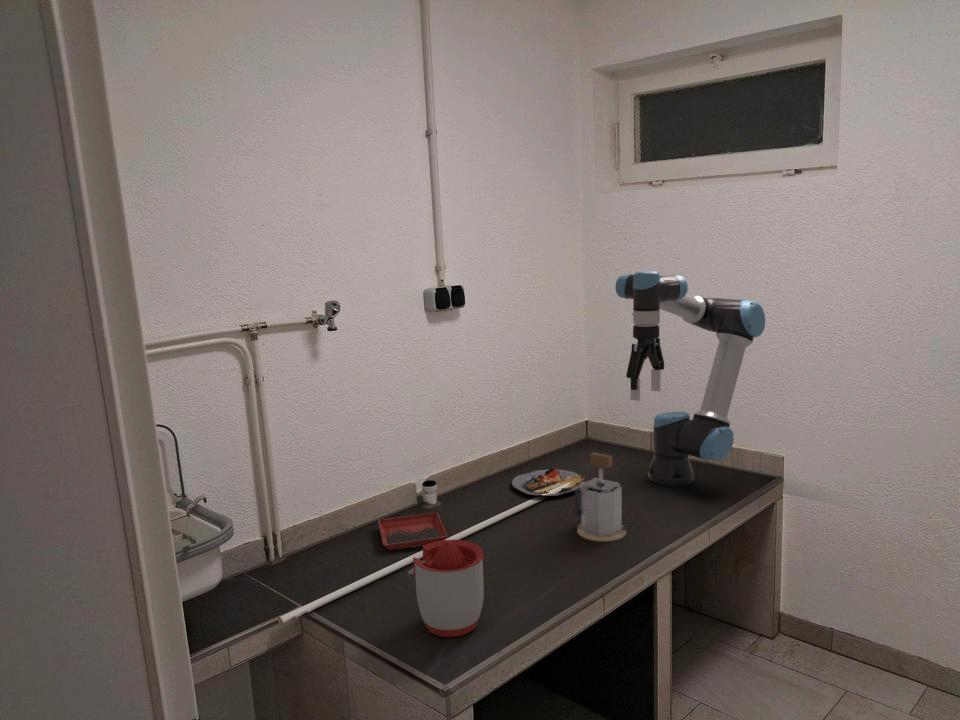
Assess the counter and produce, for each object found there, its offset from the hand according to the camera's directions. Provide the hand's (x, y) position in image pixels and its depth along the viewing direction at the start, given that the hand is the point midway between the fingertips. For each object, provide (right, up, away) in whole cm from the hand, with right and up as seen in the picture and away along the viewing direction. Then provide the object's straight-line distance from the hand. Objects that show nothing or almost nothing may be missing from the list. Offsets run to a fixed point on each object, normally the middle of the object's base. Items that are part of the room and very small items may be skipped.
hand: (645, 395), depth 217 cm
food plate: (-26, -33, +32) cm, 52 cm away
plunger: (-14, -35, -7) cm, 38 cm away
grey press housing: (-14, -39, -6) cm, 42 cm away
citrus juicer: (-57, -49, -52) cm, 91 cm away
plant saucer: (-69, -41, -5) cm, 81 cm away
